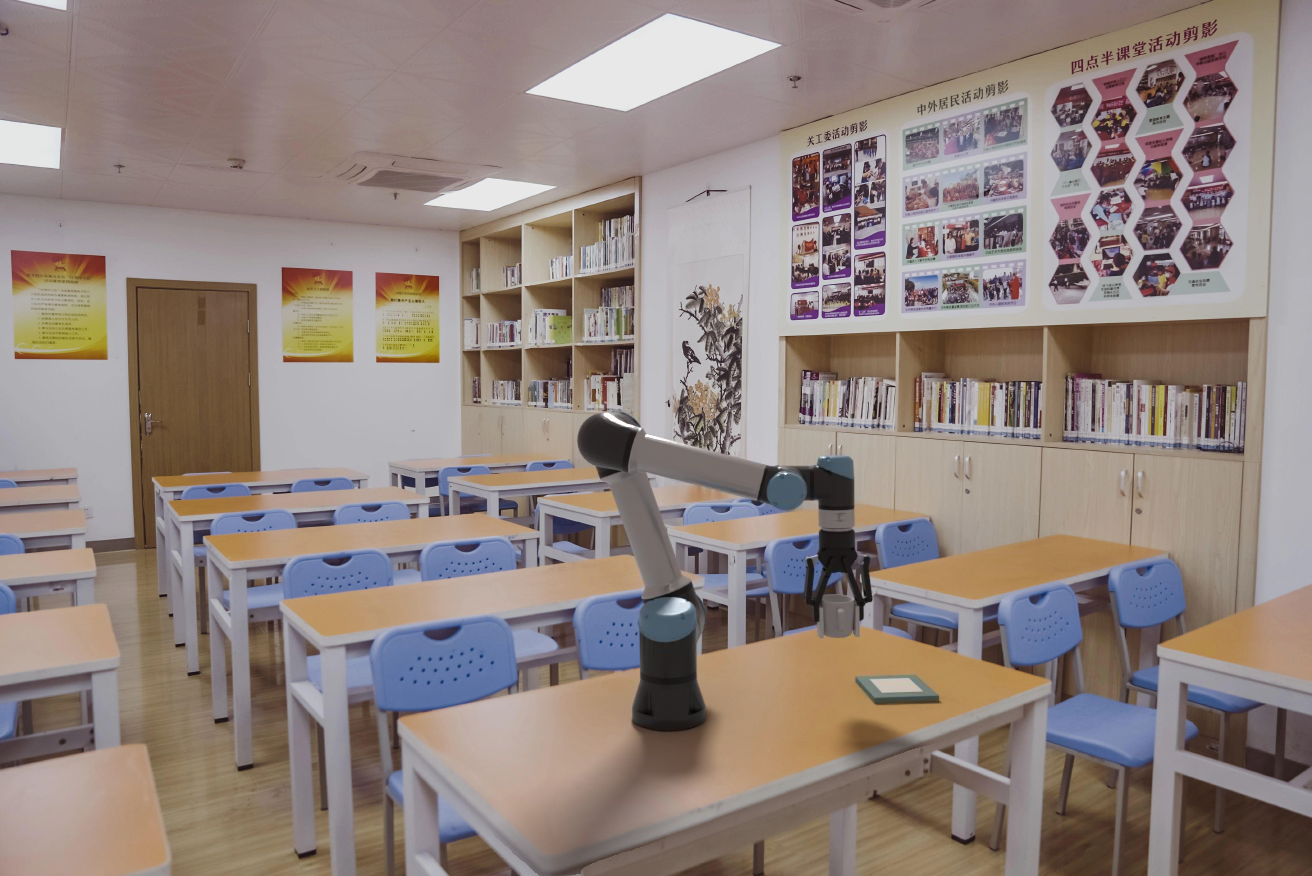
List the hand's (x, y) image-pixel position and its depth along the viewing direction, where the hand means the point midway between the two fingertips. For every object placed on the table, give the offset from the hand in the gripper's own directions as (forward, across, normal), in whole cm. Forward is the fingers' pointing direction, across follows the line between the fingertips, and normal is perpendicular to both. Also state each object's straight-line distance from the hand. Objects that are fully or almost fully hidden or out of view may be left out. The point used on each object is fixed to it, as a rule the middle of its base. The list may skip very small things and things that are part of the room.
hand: (838, 635), depth 182 cm
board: (+14, +14, +6) cm, 21 cm away
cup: (+1, 0, 0) cm, 1 cm away
